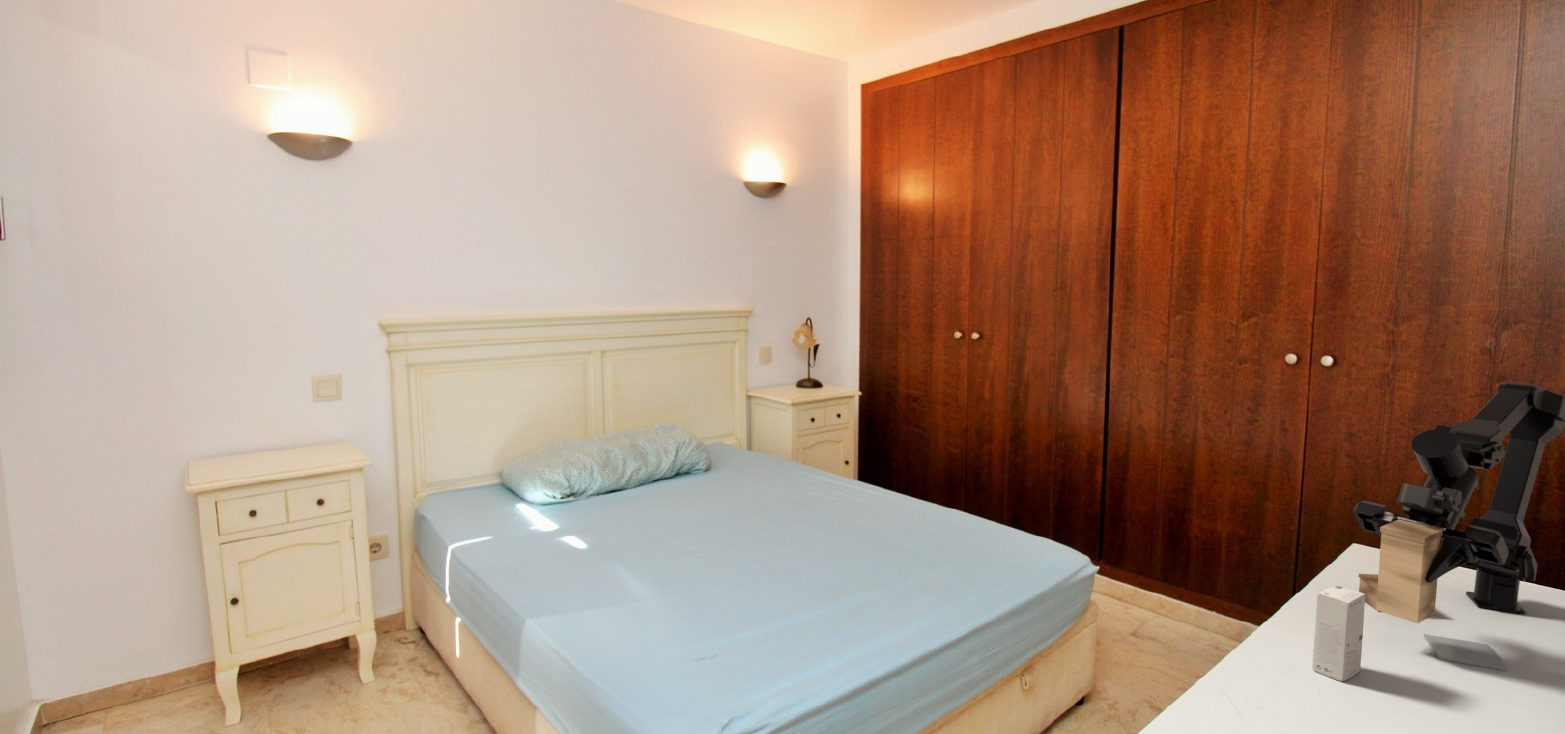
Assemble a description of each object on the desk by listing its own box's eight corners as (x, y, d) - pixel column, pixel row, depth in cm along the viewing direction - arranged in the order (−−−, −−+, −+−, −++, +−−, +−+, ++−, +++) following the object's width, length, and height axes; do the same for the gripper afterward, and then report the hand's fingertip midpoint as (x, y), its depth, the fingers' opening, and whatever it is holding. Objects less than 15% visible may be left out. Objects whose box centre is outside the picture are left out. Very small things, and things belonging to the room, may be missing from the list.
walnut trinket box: (1356, 597, 141) (1358, 573, 140) (1395, 599, 140) (1397, 575, 139) (1377, 612, 135) (1379, 587, 134) (1418, 615, 134) (1420, 589, 133)
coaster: (1423, 636, 125) (1424, 634, 125) (1487, 647, 122) (1487, 644, 122) (1439, 659, 118) (1439, 655, 118) (1507, 670, 115) (1507, 667, 115)
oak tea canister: (1392, 600, 125) (1398, 519, 123) (1436, 614, 120) (1443, 529, 118) (1374, 609, 123) (1380, 527, 121) (1418, 624, 118) (1424, 538, 115)
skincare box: (1343, 683, 112) (1351, 603, 110) (1309, 670, 115) (1315, 592, 114) (1361, 671, 115) (1369, 593, 113) (1327, 658, 119) (1334, 583, 117)
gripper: (1363, 453, 128) (1322, 528, 125) (1508, 479, 112) (1466, 566, 108) (1383, 491, 133) (1344, 565, 129) (1525, 522, 117) (1485, 607, 113)
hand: (1404, 574), depth 120 cm, fingers closed on oak tea canister, 5 cm apart
